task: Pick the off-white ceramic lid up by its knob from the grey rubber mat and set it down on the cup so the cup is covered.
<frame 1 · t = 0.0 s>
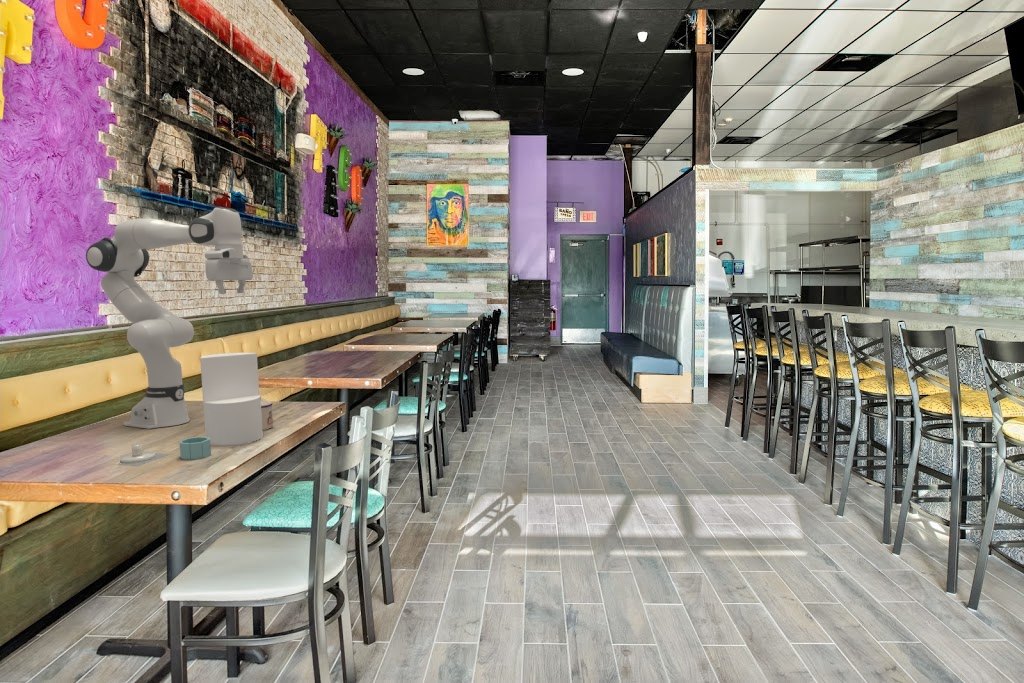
hand: (231, 293, 216), 48 cm above the table, tool pointing down, fingers open, 8 cm apart
cylinder: (234, 439, 203), on the table
teacup with lid: (260, 428, 219), on the table
lid: (137, 458, 181), resting on mat
cup: (195, 456, 183), on the table
mat: (137, 459, 181), on the table
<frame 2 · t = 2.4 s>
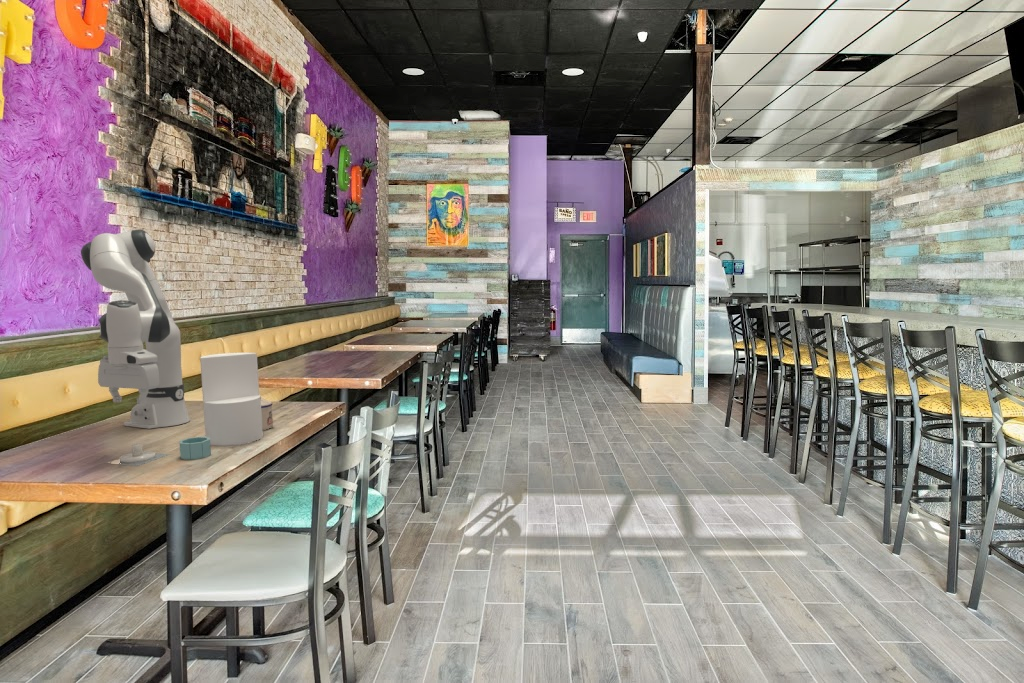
hand: (129, 402, 180), 17 cm above the table, tool pointing down, fingers open, 8 cm apart
nothing on the table moved.
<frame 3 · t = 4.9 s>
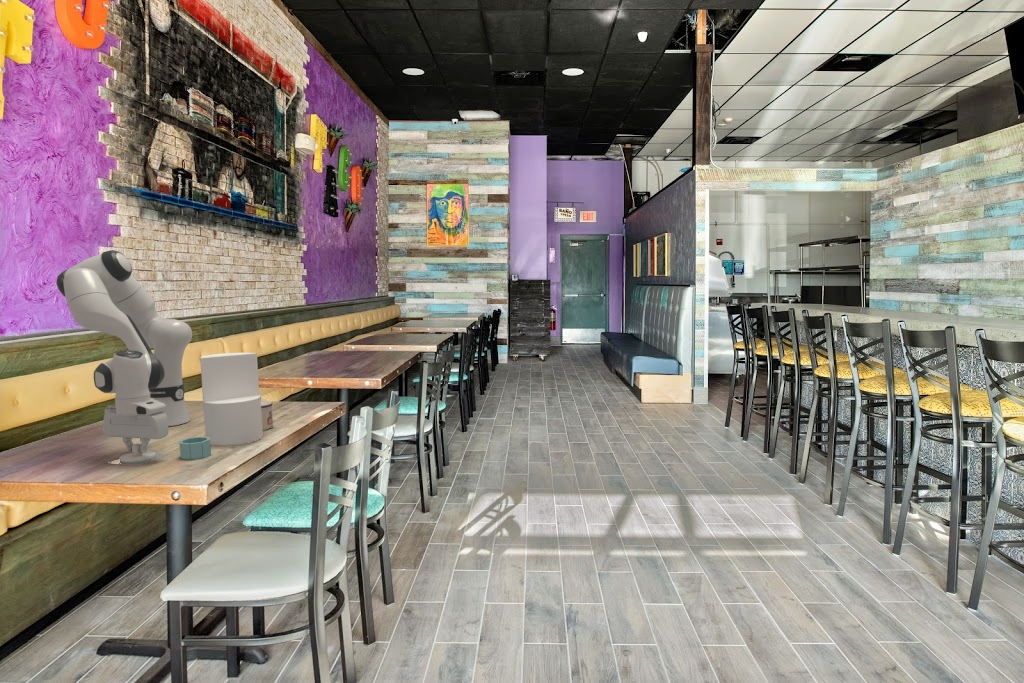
hand: (137, 452, 181), 2 cm above the table, tool pointing down, fingers closed on lid, 3 cm apart
lid: (137, 458, 181), resting on mat, touching gripper
everything else where it was.
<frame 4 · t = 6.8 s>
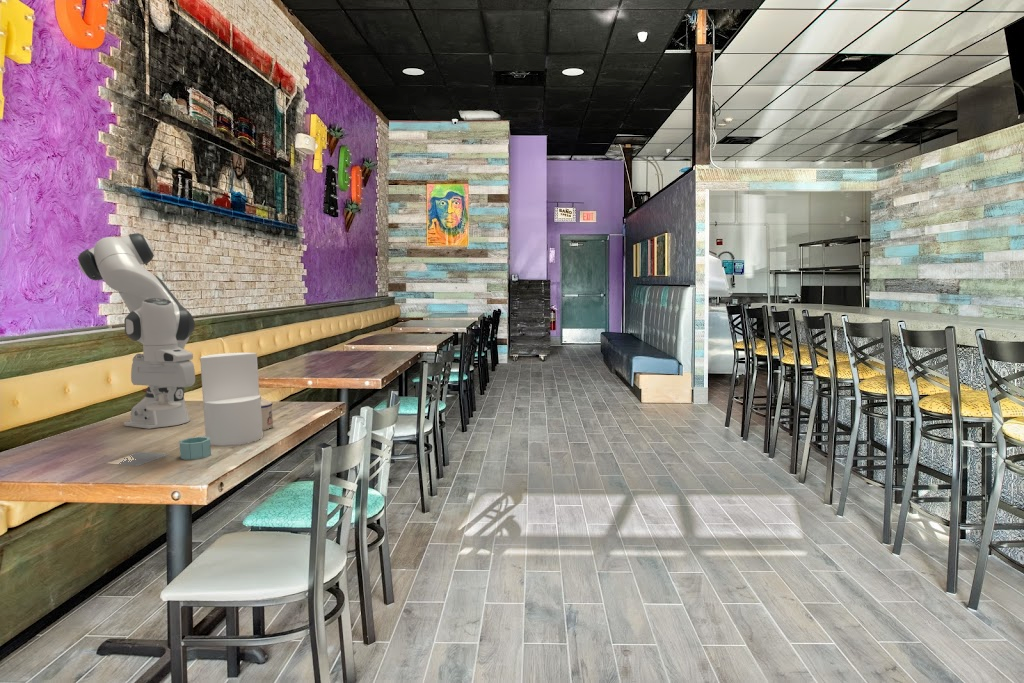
hand: (164, 400, 180), 17 cm above the table, tool pointing down, fingers closed on lid, 3 cm apart
lid: (164, 407, 180), point 15 cm above the table, touching gripper
everything else where it was.
when the fingers open (9 cm above the table, at t = 9.0 s): lid drops 3 cm, resting on cup.
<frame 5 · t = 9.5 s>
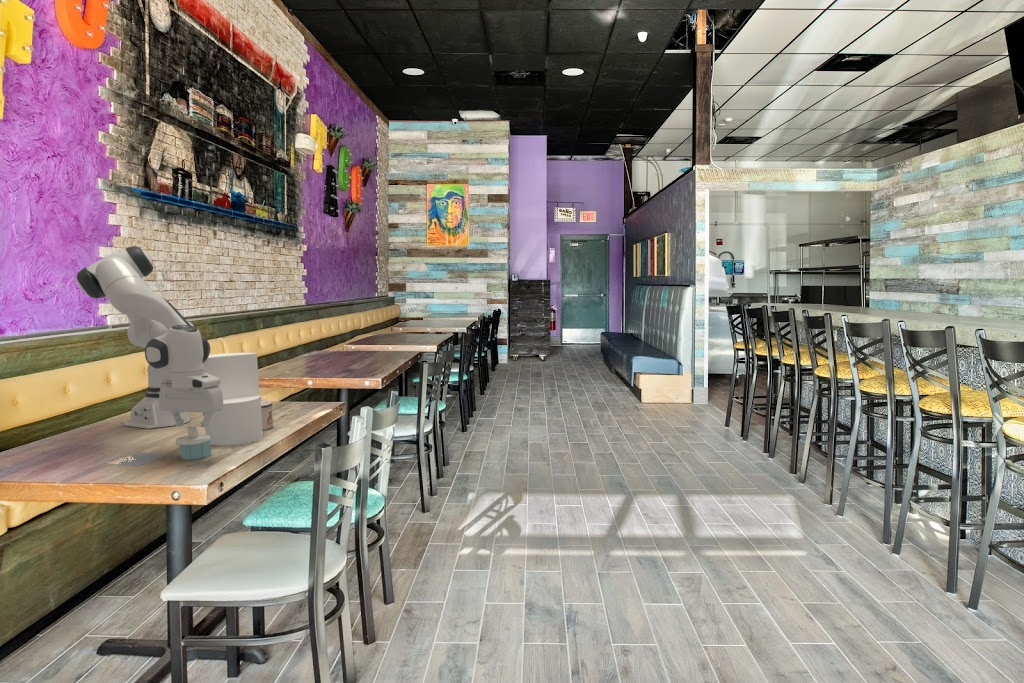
hand: (192, 426, 181), 9 cm above the table, tool pointing down, fingers open, 8 cm apart
cylinder: (234, 440, 203), on the table, touching arm
lid: (193, 441, 182), point 5 cm above the table, touching cup
everything else where it was.
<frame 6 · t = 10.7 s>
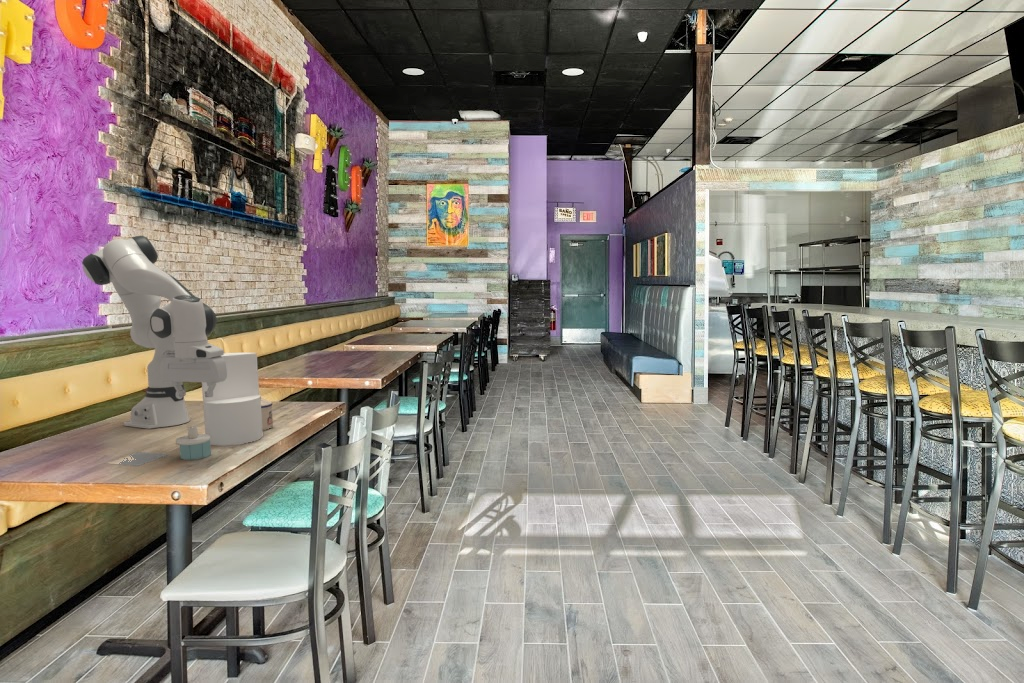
hand: (195, 396, 182), 18 cm above the table, tool pointing down, fingers open, 8 cm apart
cylinder: (234, 439, 203), on the table
everything else where it was.
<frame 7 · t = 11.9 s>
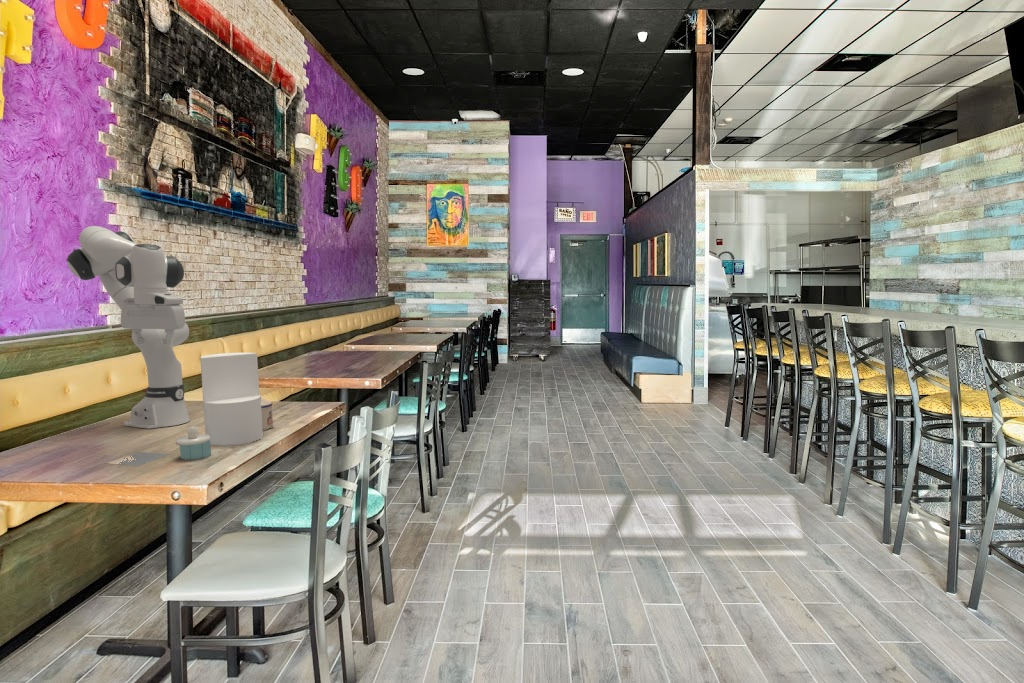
hand: (154, 343, 186), 34 cm above the table, tool pointing down, fingers open, 8 cm apart
nothing on the table moved.
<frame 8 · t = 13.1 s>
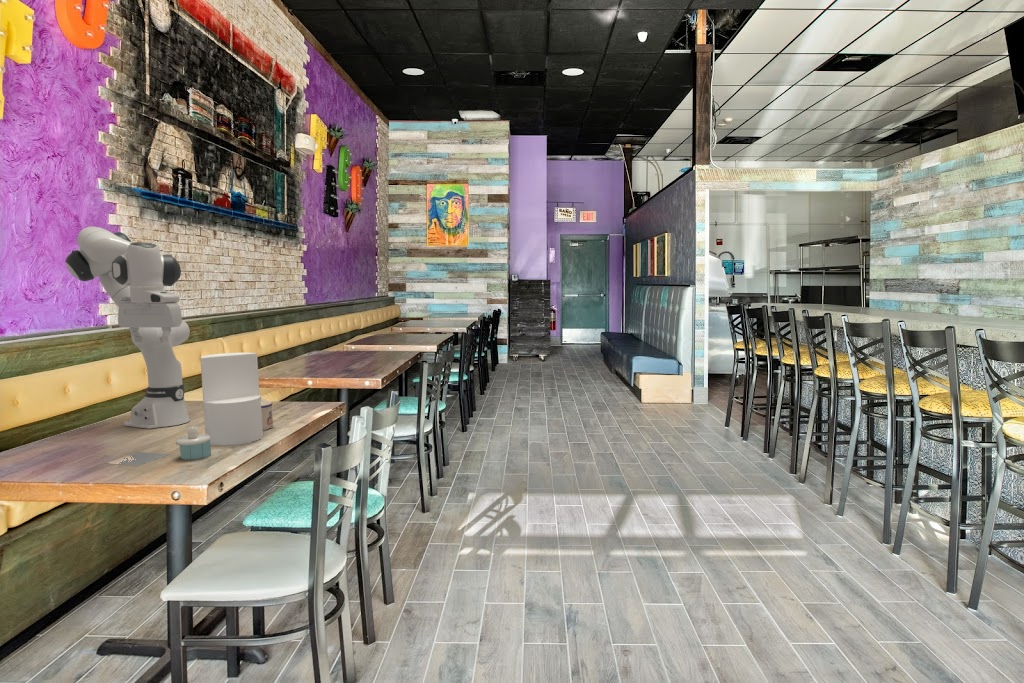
hand: (151, 342, 185), 34 cm above the table, tool pointing down, fingers open, 8 cm apart
nothing on the table moved.
at the end: lid 0.9 cm off-centre on the cup, point 5.0 cm above the cup's base; lid tilted 0°; the gripper is holding nothing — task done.
